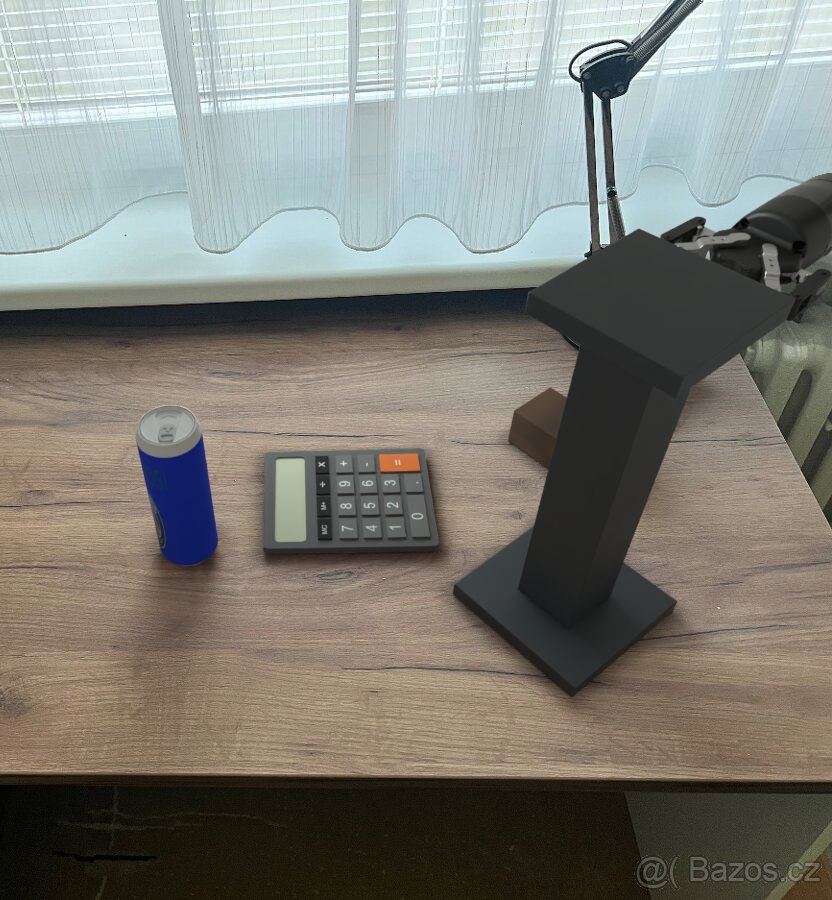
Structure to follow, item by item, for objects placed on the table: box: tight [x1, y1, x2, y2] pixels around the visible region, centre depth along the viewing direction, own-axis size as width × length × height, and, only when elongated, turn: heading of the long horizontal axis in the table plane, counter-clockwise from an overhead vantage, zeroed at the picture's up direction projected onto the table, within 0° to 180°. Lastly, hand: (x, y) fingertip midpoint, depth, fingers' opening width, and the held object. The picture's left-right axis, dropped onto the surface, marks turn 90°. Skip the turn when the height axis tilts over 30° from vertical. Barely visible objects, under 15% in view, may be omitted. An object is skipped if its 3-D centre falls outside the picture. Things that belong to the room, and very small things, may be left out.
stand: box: [452, 228, 795, 699], centre depth 60 cm, size 12×12×30 cm
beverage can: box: [135, 404, 219, 567], centre depth 72 cm, size 5×5×15 cm
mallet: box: [507, 387, 567, 470], centre depth 83 cm, size 8×19×4 cm, turn 125°
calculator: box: [262, 447, 440, 555], centre depth 79 cm, size 12×1×15 cm
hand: (692, 296), depth 80 cm, fingers open, 8 cm apart
